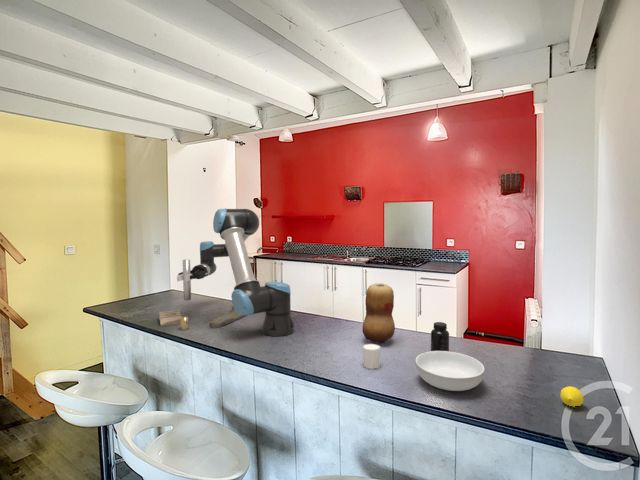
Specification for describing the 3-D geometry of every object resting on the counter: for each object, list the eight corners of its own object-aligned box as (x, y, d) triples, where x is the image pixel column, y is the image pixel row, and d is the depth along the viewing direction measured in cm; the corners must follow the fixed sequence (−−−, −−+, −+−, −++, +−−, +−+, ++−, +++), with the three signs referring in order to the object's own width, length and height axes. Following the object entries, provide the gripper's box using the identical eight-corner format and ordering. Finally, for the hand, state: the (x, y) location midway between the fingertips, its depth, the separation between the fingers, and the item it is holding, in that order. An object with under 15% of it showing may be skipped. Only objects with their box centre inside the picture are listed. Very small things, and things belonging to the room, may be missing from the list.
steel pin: (191, 300, 181) (190, 260, 180) (184, 300, 180) (182, 260, 178) (190, 298, 184) (189, 259, 183) (183, 299, 183) (182, 259, 181)
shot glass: (368, 360, 136) (368, 342, 136) (384, 365, 132) (384, 346, 131) (358, 366, 131) (358, 347, 130) (374, 371, 126) (374, 351, 126)
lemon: (562, 400, 107) (563, 381, 107) (584, 406, 103) (585, 387, 103) (557, 406, 102) (558, 386, 102) (580, 413, 98) (582, 392, 98)
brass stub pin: (189, 330, 175) (188, 317, 174) (181, 331, 173) (181, 318, 173) (187, 328, 178) (187, 315, 177) (180, 329, 176) (180, 316, 176)
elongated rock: (203, 330, 180) (221, 333, 176) (203, 319, 179) (220, 322, 176) (242, 309, 212) (257, 311, 209) (242, 300, 212) (257, 302, 208)
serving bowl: (405, 388, 114) (405, 366, 114) (426, 365, 131) (426, 346, 131) (477, 407, 102) (477, 383, 102) (489, 379, 120) (490, 358, 119)
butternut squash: (377, 350, 146) (377, 288, 145) (356, 340, 157) (356, 283, 156) (401, 343, 154) (402, 284, 152) (380, 334, 165) (380, 280, 163)
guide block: (181, 323, 186) (181, 316, 186) (160, 325, 182) (160, 318, 181) (179, 316, 198) (178, 310, 198) (159, 318, 194) (158, 312, 194)
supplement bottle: (426, 352, 144) (427, 322, 143) (441, 349, 146) (441, 320, 146) (438, 358, 137) (438, 327, 137) (452, 355, 140) (453, 325, 139)
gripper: (215, 278, 199) (198, 286, 175) (186, 278, 200) (165, 286, 176) (215, 264, 198) (198, 271, 175) (185, 264, 199) (165, 270, 176)
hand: (182, 278), depth 176 cm, fingers closed on steel pin, 3 cm apart
